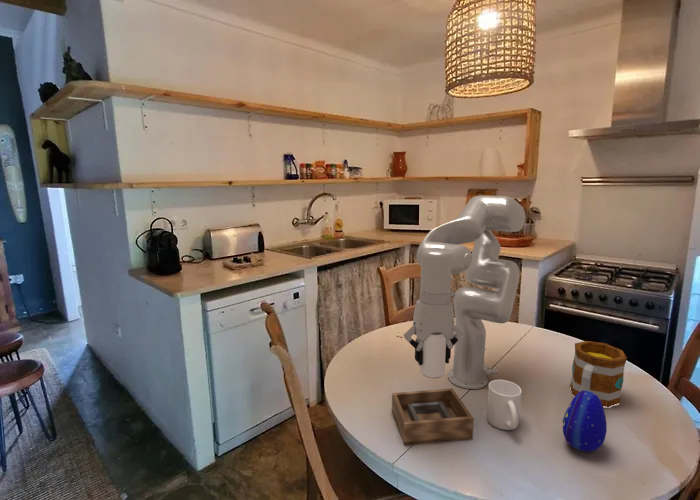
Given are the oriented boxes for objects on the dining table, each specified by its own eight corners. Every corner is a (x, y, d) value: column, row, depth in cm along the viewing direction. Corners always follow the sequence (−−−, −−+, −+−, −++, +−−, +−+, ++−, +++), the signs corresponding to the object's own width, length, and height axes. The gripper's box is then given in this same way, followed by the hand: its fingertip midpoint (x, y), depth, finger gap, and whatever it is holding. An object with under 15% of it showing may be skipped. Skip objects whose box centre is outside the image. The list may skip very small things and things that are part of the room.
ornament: (565, 427, 104) (571, 376, 101) (606, 442, 98) (613, 388, 95) (556, 450, 95) (562, 395, 92) (599, 467, 90) (607, 409, 87)
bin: (451, 407, 113) (452, 388, 112) (472, 439, 99) (473, 418, 98) (391, 412, 111) (392, 393, 110) (404, 445, 97) (404, 424, 96)
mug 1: (529, 441, 99) (533, 404, 97) (496, 440, 99) (499, 404, 97) (511, 412, 110) (514, 379, 108) (482, 412, 111) (484, 379, 109)
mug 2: (576, 379, 128) (581, 337, 125) (625, 395, 118) (631, 350, 115) (555, 404, 114) (560, 357, 111) (609, 424, 105) (616, 374, 102)
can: (445, 380, 98) (447, 336, 96) (419, 377, 100) (420, 334, 97) (444, 367, 105) (446, 326, 102) (420, 365, 106) (421, 324, 103)
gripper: (461, 291, 103) (458, 353, 106) (398, 293, 101) (396, 357, 104) (473, 300, 95) (469, 366, 99) (405, 303, 93) (404, 371, 97)
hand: (432, 361), depth 101 cm, fingers closed on can, 6 cm apart
